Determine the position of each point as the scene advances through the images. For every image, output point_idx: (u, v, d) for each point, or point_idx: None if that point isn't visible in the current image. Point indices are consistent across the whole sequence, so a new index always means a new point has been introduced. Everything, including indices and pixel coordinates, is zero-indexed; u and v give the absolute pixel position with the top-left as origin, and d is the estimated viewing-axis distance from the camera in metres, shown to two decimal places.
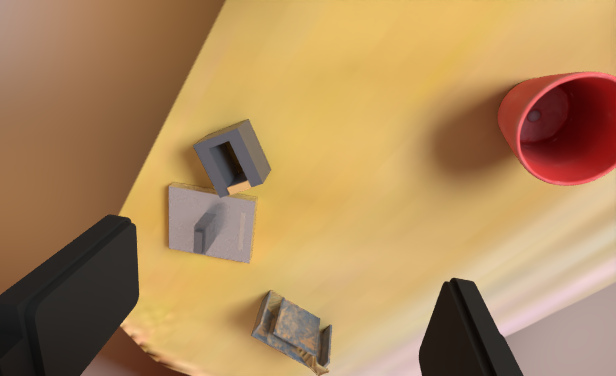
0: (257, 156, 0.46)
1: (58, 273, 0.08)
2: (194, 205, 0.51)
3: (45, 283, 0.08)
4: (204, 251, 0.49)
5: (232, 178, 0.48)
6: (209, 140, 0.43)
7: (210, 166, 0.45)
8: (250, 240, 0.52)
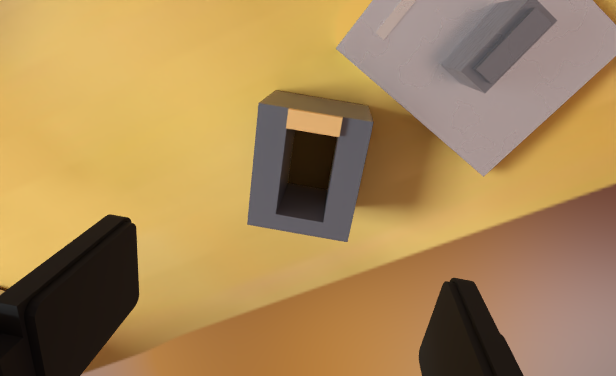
0: None
1: (58, 273, 0.08)
2: (469, 111, 0.22)
3: (45, 283, 0.08)
4: (525, 5, 0.16)
5: None
6: (310, 233, 0.22)
7: (343, 192, 0.21)
8: None
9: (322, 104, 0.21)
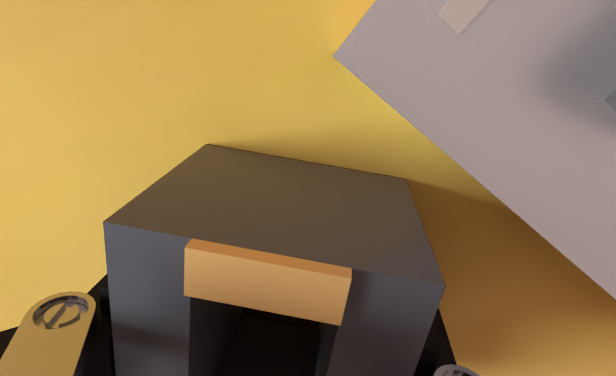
0: None
1: None
2: None
3: None
4: None
5: None
6: None
7: None
8: None
9: (300, 194, 0.09)
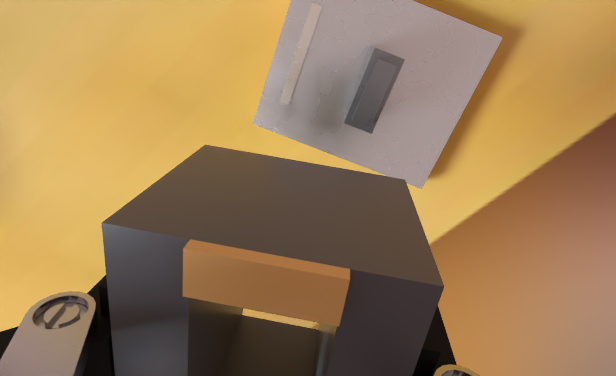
0: None
1: None
2: (385, 138, 0.24)
3: None
4: (373, 57, 0.18)
5: None
6: None
7: None
8: (285, 29, 0.22)
9: (299, 195, 0.09)
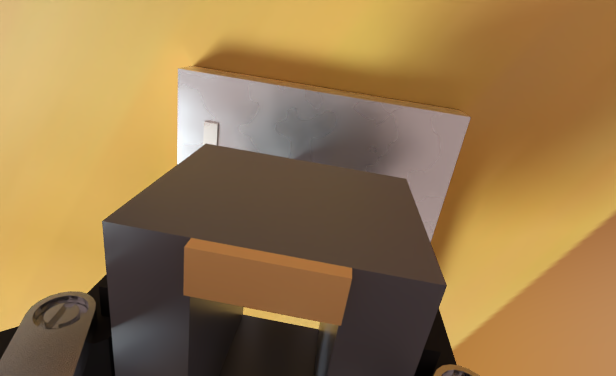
0: None
1: None
2: None
3: None
4: None
5: None
6: None
7: None
8: (181, 157, 0.17)
9: (301, 193, 0.09)
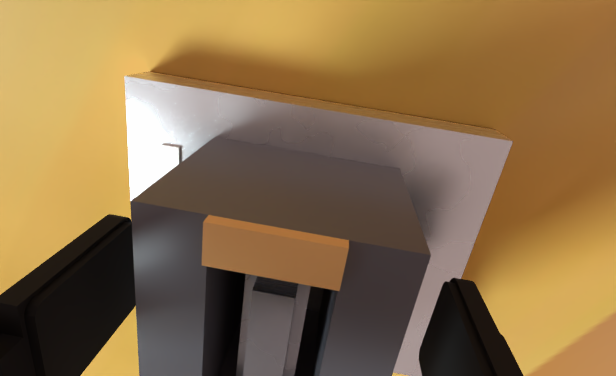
0: None
1: (58, 273, 0.08)
2: None
3: (45, 282, 0.08)
4: None
5: None
6: None
7: None
8: (135, 189, 0.13)
9: (303, 180, 0.10)
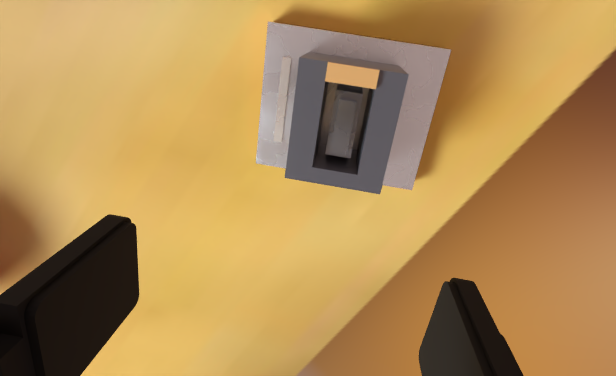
0: None
1: (58, 273, 0.08)
2: None
3: (45, 283, 0.08)
4: (336, 97, 0.22)
5: None
6: (345, 185, 0.23)
7: (377, 144, 0.22)
8: (265, 82, 0.26)
9: (356, 61, 0.22)
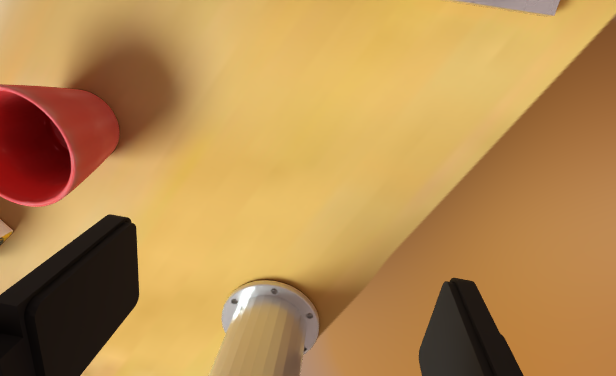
0: None
1: (58, 273, 0.08)
2: None
3: (45, 282, 0.08)
4: None
5: None
6: None
7: None
8: None
9: None
